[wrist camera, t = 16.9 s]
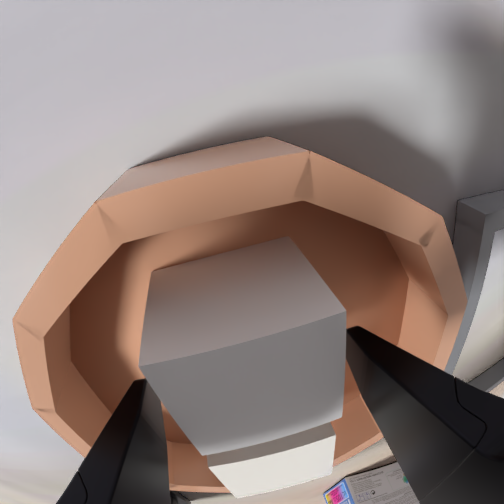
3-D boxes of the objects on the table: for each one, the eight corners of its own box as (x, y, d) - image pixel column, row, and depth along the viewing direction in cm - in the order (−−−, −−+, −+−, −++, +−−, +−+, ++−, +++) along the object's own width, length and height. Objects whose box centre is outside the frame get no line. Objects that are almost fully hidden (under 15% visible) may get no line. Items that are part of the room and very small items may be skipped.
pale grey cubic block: (301, 337, 12) (342, 417, 8) (192, 366, 11) (202, 455, 8) (288, 235, 10) (346, 310, 6) (151, 271, 9) (137, 366, 6)
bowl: (390, 394, 17) (414, 433, 14) (146, 455, 15) (146, 501, 12) (419, 120, 9) (489, 135, 6) (-9, 221, 8) (-63, 265, 5)
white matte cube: (306, 410, 14) (331, 474, 11) (224, 431, 14) (236, 498, 10) (301, 357, 12) (335, 434, 9) (198, 383, 12) (208, 467, 8)
